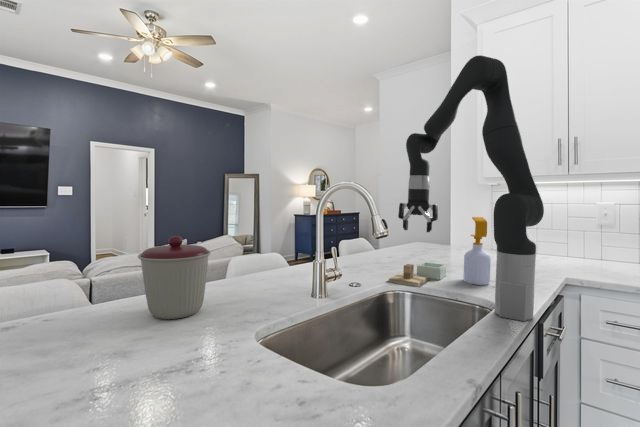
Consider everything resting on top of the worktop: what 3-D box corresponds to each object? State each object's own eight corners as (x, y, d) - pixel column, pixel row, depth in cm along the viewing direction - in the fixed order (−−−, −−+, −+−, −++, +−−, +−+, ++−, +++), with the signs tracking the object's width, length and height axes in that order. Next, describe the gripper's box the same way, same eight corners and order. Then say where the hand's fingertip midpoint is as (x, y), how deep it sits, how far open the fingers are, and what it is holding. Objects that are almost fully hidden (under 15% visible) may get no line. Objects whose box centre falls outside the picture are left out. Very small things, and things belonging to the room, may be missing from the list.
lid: (418, 286, 121) (418, 269, 121) (388, 281, 127) (389, 265, 127) (427, 280, 130) (427, 264, 130) (399, 276, 137) (400, 261, 136)
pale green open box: (439, 281, 130) (440, 268, 130) (416, 278, 135) (416, 265, 135) (446, 276, 138) (446, 264, 137) (423, 273, 143) (423, 261, 143)
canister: (142, 331, 81) (140, 242, 80) (136, 309, 96) (134, 234, 95) (219, 317, 90) (218, 237, 89) (202, 299, 106) (202, 231, 105)
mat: (420, 288, 120) (420, 287, 120) (385, 283, 127) (385, 281, 127) (430, 281, 131) (430, 280, 131) (398, 276, 138) (398, 275, 138)
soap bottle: (483, 279, 134) (486, 216, 132) (493, 285, 125) (496, 218, 123) (459, 279, 134) (462, 216, 133) (468, 284, 125) (470, 217, 124)
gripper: (396, 187, 129) (395, 230, 130) (435, 188, 121) (433, 233, 122) (403, 187, 135) (402, 228, 136) (440, 188, 127) (438, 231, 129)
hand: (417, 231), depth 129 cm, fingers open, 8 cm apart
